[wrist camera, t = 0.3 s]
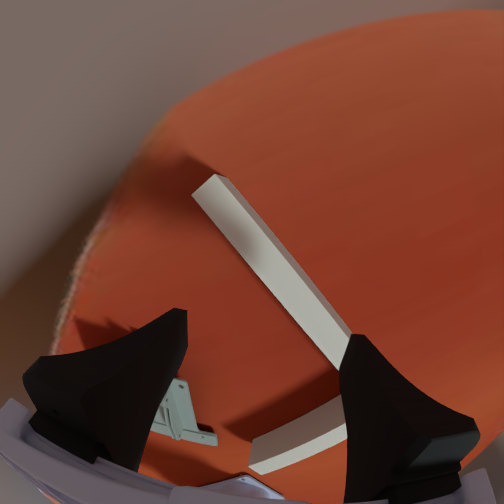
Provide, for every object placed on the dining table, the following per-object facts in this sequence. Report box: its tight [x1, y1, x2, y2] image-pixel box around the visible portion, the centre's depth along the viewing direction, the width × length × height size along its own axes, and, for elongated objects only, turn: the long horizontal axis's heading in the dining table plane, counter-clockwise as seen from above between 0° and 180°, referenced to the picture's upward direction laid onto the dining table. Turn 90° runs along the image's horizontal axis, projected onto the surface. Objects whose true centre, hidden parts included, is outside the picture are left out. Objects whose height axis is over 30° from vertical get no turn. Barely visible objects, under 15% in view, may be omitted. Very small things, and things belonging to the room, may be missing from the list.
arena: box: [192, 174, 353, 475], centre depth 22 cm, size 15×23×4 cm, turn 40°
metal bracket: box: [150, 378, 218, 446], centre depth 25 cm, size 14×6×15 cm
